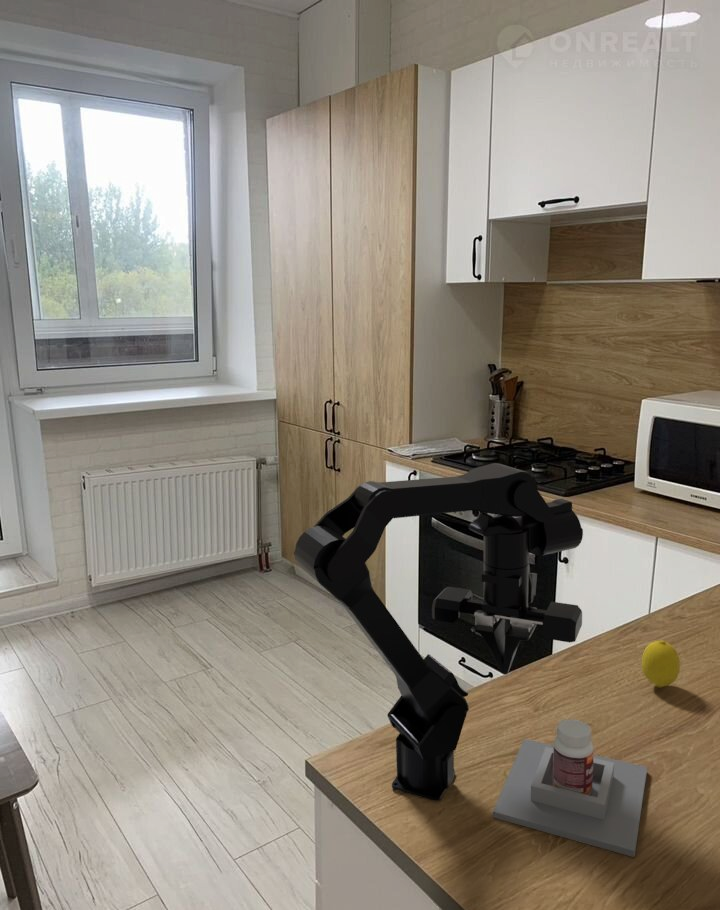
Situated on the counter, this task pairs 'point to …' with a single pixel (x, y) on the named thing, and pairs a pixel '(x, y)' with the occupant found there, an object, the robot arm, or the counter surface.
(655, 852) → the counter surface
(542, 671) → the counter surface
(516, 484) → the robot arm
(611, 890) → the counter surface
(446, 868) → the counter surface
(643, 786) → the bottle stand
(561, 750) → the pill bottle
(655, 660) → the lemon
